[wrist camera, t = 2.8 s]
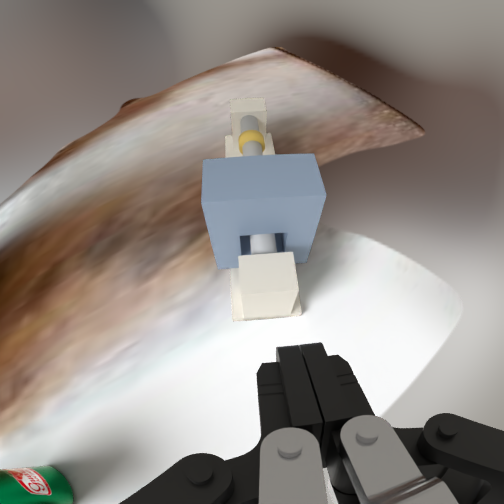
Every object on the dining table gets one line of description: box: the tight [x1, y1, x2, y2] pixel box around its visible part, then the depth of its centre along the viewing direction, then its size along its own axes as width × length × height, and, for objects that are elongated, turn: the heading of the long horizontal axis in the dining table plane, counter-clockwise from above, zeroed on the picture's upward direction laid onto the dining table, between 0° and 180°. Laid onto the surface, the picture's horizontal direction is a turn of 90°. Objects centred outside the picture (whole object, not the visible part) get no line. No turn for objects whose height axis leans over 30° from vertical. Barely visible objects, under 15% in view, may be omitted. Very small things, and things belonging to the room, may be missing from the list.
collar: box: [201, 154, 326, 269], centre depth 24 cm, size 4×8×10 cm, turn 94°
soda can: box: [0, 466, 73, 504], centre depth 12 cm, size 5×5×12 cm
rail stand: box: [225, 98, 302, 322], centre depth 29 cm, size 24×6×6 cm, turn 4°
